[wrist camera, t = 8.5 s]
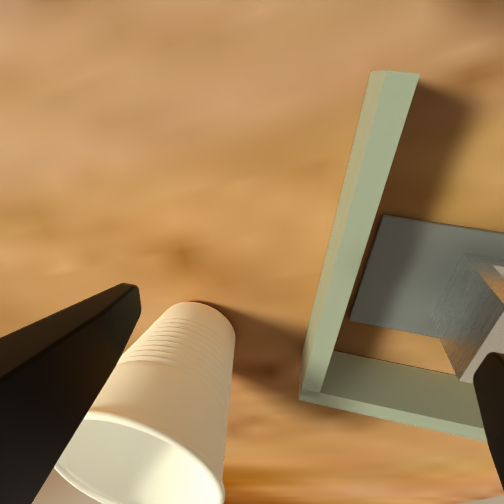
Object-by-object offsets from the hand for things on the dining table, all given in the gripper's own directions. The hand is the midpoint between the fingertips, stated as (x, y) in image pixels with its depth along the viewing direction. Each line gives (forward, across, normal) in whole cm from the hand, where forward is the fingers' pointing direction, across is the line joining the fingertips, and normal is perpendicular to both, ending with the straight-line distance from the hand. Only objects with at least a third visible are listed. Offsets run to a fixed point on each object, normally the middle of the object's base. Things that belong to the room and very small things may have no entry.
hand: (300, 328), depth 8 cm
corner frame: (+12, -10, +4) cm, 16 cm away
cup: (+12, +7, +13) cm, 19 cm away
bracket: (+11, -12, +5) cm, 18 cm away
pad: (+12, -10, +5) cm, 16 cm away
